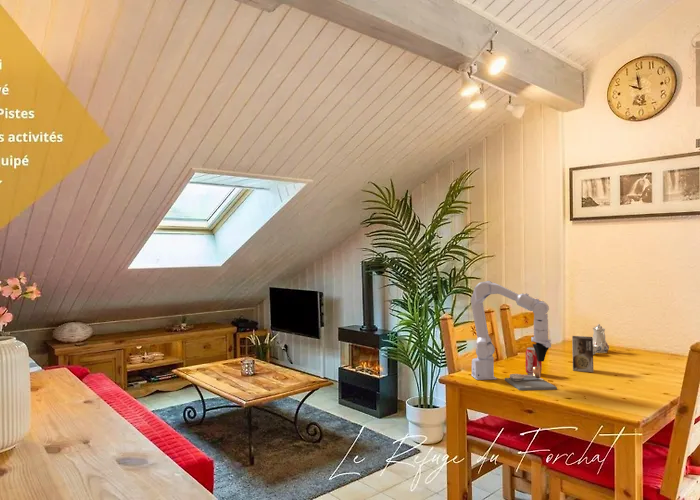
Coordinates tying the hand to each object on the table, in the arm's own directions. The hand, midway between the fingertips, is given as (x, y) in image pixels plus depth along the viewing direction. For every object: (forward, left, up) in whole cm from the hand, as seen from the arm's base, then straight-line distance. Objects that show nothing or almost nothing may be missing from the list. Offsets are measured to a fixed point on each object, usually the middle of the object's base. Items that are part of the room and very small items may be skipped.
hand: (540, 361), depth 208 cm
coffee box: (+32, +24, -11) cm, 42 cm away
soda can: (+5, +19, -11) cm, 22 cm away
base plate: (-5, +1, -10) cm, 11 cm away
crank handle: (-5, +5, -8) cm, 11 cm away
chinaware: (+63, +66, -11) cm, 92 cm away
